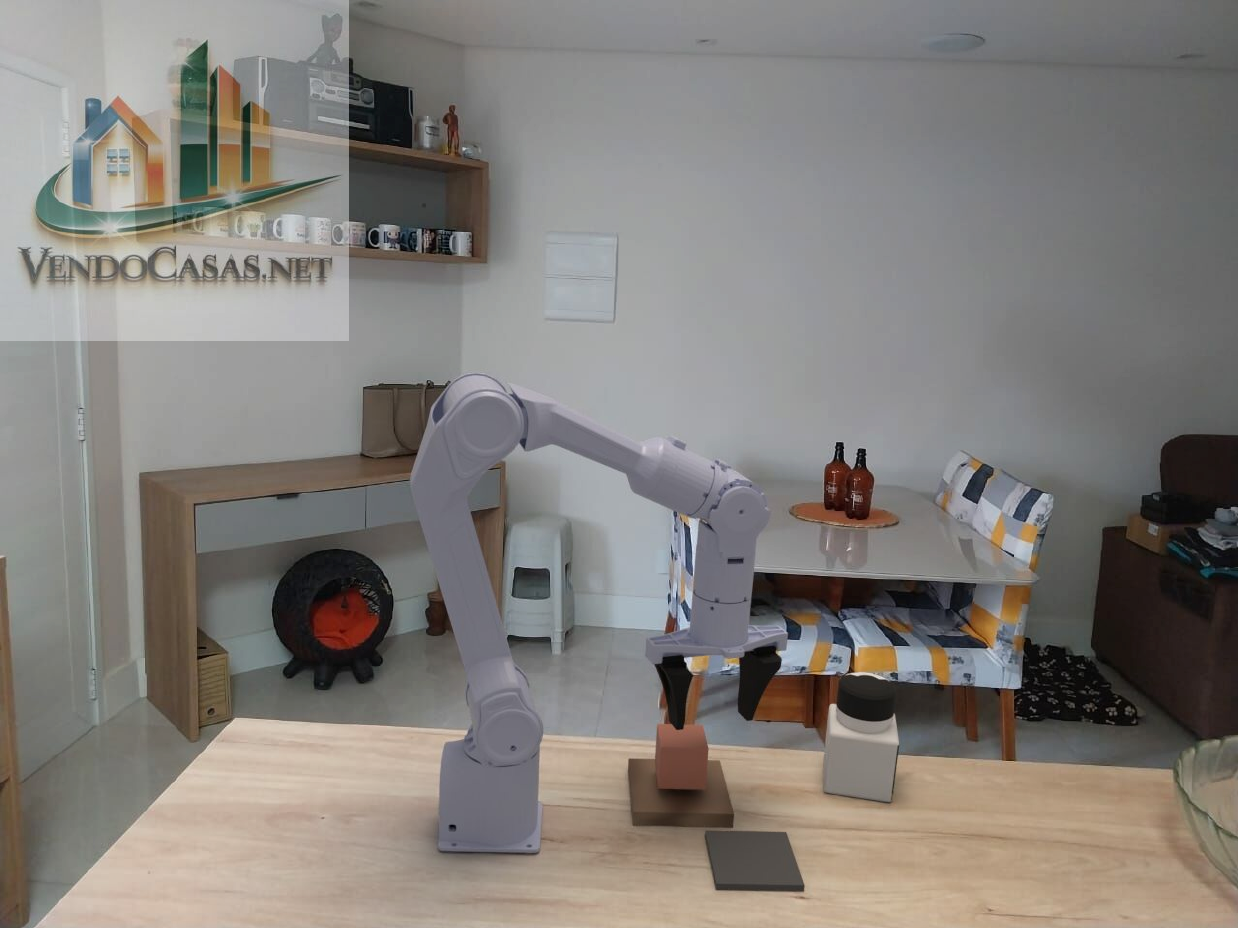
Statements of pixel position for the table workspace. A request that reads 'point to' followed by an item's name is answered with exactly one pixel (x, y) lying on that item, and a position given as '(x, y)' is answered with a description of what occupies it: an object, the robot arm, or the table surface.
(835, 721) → the medicine bottle
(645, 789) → the post block
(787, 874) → the mat
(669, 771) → the terracotta cube
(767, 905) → the table surface
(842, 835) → the table surface
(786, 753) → the table surface
